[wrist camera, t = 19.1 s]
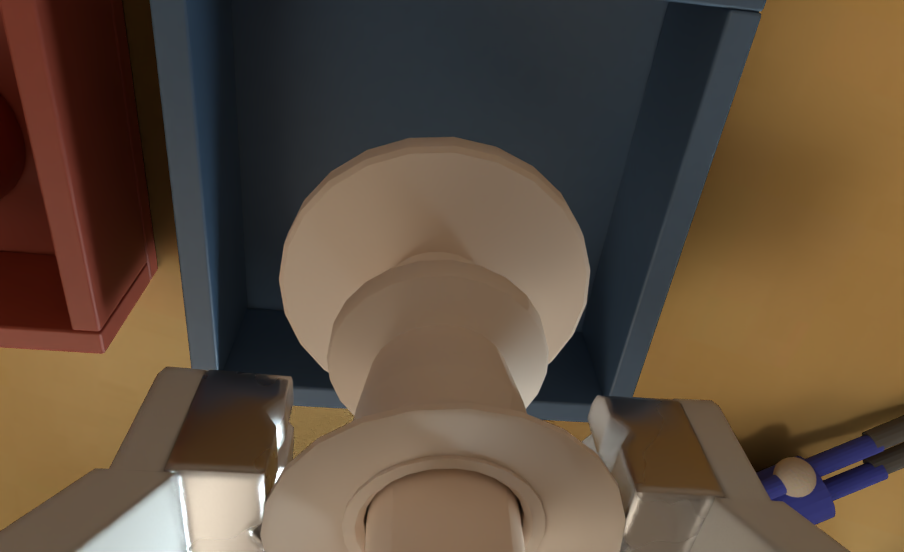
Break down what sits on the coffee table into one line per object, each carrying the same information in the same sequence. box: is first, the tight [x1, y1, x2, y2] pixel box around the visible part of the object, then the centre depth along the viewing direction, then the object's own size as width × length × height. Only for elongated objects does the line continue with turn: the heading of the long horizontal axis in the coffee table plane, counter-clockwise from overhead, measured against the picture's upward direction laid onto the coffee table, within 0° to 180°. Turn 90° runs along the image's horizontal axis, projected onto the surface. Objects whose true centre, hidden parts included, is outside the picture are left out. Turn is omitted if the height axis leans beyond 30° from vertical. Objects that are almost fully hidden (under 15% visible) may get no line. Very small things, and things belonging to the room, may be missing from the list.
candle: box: [260, 137, 626, 552], centre depth 7 cm, size 5×5×10 cm
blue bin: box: [150, 0, 766, 422], centre depth 15 cm, size 10×10×4 cm
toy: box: [756, 416, 904, 525], centre depth 22 cm, size 5×5×15 cm
